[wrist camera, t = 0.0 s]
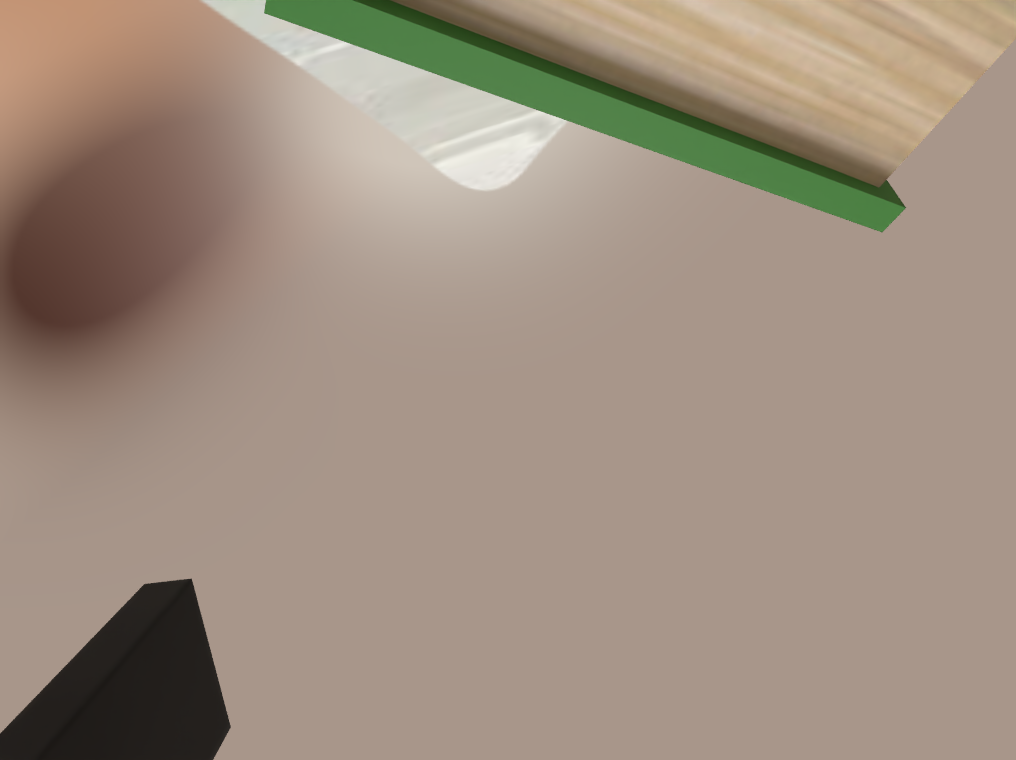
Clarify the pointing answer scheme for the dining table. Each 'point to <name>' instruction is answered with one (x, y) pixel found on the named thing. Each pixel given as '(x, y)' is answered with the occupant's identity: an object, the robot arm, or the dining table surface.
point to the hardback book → (710, 76)
